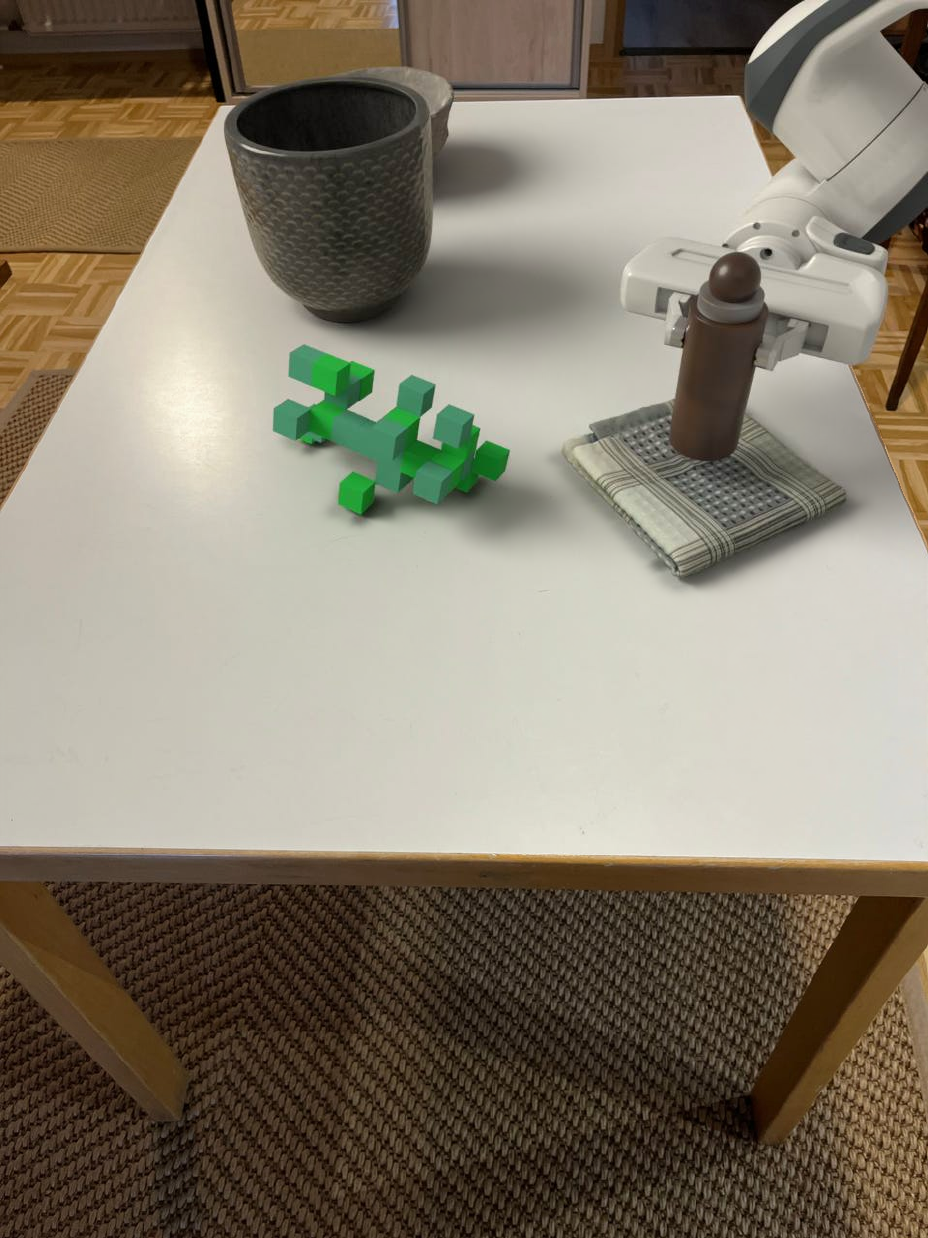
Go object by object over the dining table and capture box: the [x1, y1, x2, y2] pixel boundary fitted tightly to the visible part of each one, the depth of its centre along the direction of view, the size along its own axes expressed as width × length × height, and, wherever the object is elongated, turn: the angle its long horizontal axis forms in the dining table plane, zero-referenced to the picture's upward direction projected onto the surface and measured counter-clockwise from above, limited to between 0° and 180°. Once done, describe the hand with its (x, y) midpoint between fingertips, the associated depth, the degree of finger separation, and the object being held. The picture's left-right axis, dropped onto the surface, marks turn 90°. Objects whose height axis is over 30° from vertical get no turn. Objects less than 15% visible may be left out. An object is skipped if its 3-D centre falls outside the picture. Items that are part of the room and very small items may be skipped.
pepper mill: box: [669, 252, 769, 461], centre depth 70 cm, size 6×6×16 cm
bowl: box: [328, 66, 455, 160], centre depth 118 cm, size 21×21×10 cm
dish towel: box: [560, 398, 847, 578], centre depth 78 cm, size 19×18×3 cm
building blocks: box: [272, 343, 511, 515], centre depth 78 cm, size 20×12×13 cm, turn 79°
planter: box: [223, 75, 434, 323], centre depth 95 cm, size 20×20×19 cm
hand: (718, 349), depth 69 cm, fingers closed on pepper mill, 5 cm apart
